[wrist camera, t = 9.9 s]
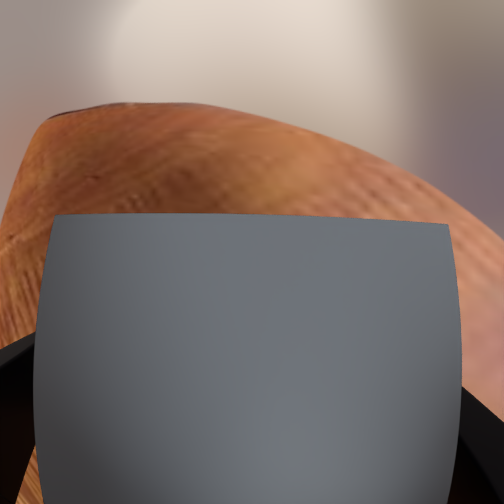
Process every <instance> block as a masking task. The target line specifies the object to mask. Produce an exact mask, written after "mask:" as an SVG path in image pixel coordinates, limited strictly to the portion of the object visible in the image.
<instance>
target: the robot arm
mask: <svg viewBox="0 0 504 504" xmlns="http://www.w3.org/2000/svg"><path fill="white" fill-rule="evenodd" d="M35 334H36V332H34V333H32V334H30V335H28V336H26V337H24V338H22V339H20V340H18V341H16V342H14V343H12V344H10V345H8V346H6V347H4V348H2V349H0V504H15V503H16V500H17V497H18V493H19V490H20V487H21V484H22V481H23V478H24V475H25V472H26V469H27V466H28V463H29V460H30V458H31V455H32V452H33V449H34V447H35V444H36V443H35V429H34V407H33V371H34V348H35ZM447 504H504V422H503V421H502V420H500V419H499V418H498V417H497V416H496V415H495V414H494V413H492V412H491V411H490V410H489V409H488V408H487V407H486V406H484V405H483V404H482V403H481V402H480V401H479V400H478V399H476V398H475V397H474V396H473V395H472V394H471V393H469V392H468V391H467V390H466V389H465V388H464V387H462V386H461V407H460V421H459V432H458V441H457V449H456V456H455V463H454V469H453V475H452V481H451V486H450V491H449V496H448V501H447Z"/></svg>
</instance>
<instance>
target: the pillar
mask: <svg viewBox="0 0 504 504" xmlns="http://www.w3.org/2000/svg"><path fill="white" fill-rule="evenodd" d="M461 386H462V343H461V321H460V307H459V296H458V286H457V277H456V269H455V262H454V255H453V249H452V243H451V237H450V231H449V226H448V224H437V223H424V222H410V221H395V220H378V219H361V218H341V217H319V216H293V215H260V214H208V213H120V214H70V215H55V218H54V222H53V226H52V230H51V235H50V240H49V244H48V249H47V254H46V259H45V265H44V271H43V277H42V283H41V290H40V297H39V305H38V313H37V323H36V334H35V348H34V371H33V407H34V429H35V443H36V454H37V463H38V471H39V478H40V484H41V490H42V496H43V502H44V504H447V501H448V496H449V491H450V486H451V481H452V475H453V469H454V463H455V456H456V449H457V441H458V432H459V421H460V407H461Z"/></svg>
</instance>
